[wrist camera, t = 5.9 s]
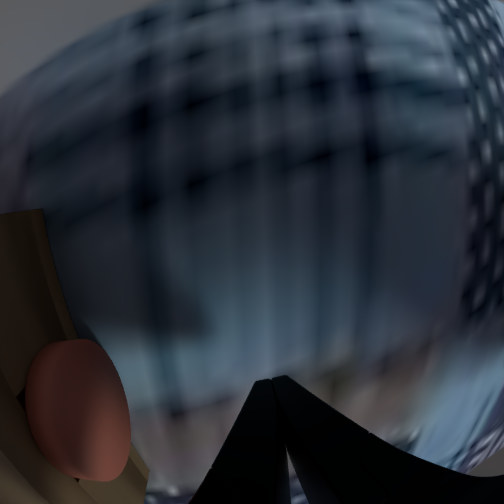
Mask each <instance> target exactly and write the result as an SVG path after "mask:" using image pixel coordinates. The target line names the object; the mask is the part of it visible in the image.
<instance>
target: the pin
mask: <svg viewBox="0 0 504 504" xmlns="http://www.w3.org/2000/svg"><path fill="white" fill-rule="evenodd" d="M16 398H17V400H18V401H19V403H20V405H21V407H22V408H23V410H24V411H25V413H26V415H27V417H28V422H29V425H30V429H31V432H32V435H33V437H34V439H35V442H36V444H37V445H38V447H39V449H40V451H41V452H42V454H43V455H44V457H45V458H46V459H47V460H48V461H49V463H50V464H51V465H52V466H53V467H55V468H56V469H57V470H58V471H60V472H61V473H63V474H65V475H67V476H70V477H74V478H80V479H86V480H94V481H102V482H106V481H111V480H113V479H115V478H116V477H118V476H119V475H120V474H121V472H122V471H123V469H124V467H125V465H126V463H127V460H128V456H129V451H130V442H131V427H130V416H129V409H128V404H127V399H126V395H125V392H124V388H123V385H122V382H121V379H120V377H119V374H118V372H117V370H116V368H115V366H114V364H113V362H112V360H111V359H110V357H109V356H108V354H107V353H106V352H105V351H104V349H102V348H101V347H100V346H99V345H98V344H97V343H95V342H93V341H91V340H88V339H76V340H66V341H56V342H52V343H49V344H47V345H45V346H44V347H43V348H42V349H41V350H40V351H39V352H38V353H37V355H36V356H35V358H34V360H33V361H32V364H31V366H30V369H29V372H28V376H27V382H26V386H25V387H24V388H23V389H22V391H21V392H20V393H19V394H18V395H17V397H16Z"/></svg>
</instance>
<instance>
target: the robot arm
mask: <svg viewBox="0 0 504 504" xmlns="http://www.w3.org/2000/svg"><path fill="white" fill-rule="evenodd" d="M284 440H285V441H284ZM285 445H286V446H285ZM286 448H287V451H286ZM287 452H288V454H289V457H290V460H291V462H292V465H293V467H294V469H295V472H296V474H297V477H298V479H299V481H300V484H301V486H302V488H303V491H304V493H305V495H306V498H307V500H308V502H309V504H504V475H499V476H492V477H478V476H471V475H467V474H463V473H460V472H457V471H454V470H451V469H448V468H445V467H442V466H440V465H437V464H434V463H431V462H429V461H426V460H424V459H421V458H418V457H416V456H414V455H412V454H409V453H407V452H405V451H403V450H400V449H398V448H396V447H395V446H393V445H391V444H389V443H387V442H386V441H384V440H382V439H380V438H379V437H377V436H376V435H374V434H372V433H369V431H367V430H366V429H364V428H363V427H361V426H360V425H358V424H357V423H355V422H353V421H352V420H350V419H349V418H347V417H346V416H344V415H343V414H341V413H340V412H338V411H337V410H335V409H334V408H332V407H331V406H330V405H328V404H327V403H325V402H324V401H322V400H321V399H319V398H318V397H317V396H315V395H314V394H312V393H311V392H309V391H308V390H307V389H305V388H304V387H302V386H301V385H300V384H298V383H297V382H296V381H294V380H293V379H291V378H290V377H289V376H287V375H282V376H278V377H273V378H272V379H271V380H270V379H263V380H258V381H256V382H255V383H254V385H253V387H252V389H251V391H250V393H249V395H248V397H247V399H246V401H245V403H244V405H243V407H242V409H241V411H240V413H239V415H238V417H237V419H236V421H235V423H234V425H233V427H232V429H231V431H230V432H229V434H228V436H227V438H226V440H225V442H224V444H223V446H222V448H221V449H220V451H219V453H218V455H217V457H216V459H215V461H214V462H213V464H212V466H211V469H209V471H208V473H207V475H206V477H205V478H204V480H203V482H202V483H201V485H200V487H199V488H198V490H197V491H196V493H195V495H194V496H193V497H192V499H191V500H190V501H189V503H188V504H291V497H290V483H289V471H288V458H287Z"/></svg>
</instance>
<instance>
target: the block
mask: <svg viewBox="0 0 504 504" xmlns="http://www.w3.org/2000/svg"><path fill="white" fill-rule="evenodd" d="M76 339H79V338H78V336H77V333H76V331H75V328H74V325H73V323H72V320H71V317H70V314H69V311H68V309H67V306H66V303H65V300H64V296H63V293H62V290H61V287H60V283H59V280H58V277H57V273H56V269H55V266H54V262H53V258H52V254H51V250H50V246H49V241H48V237H47V232H46V227H45V222H44V217H43V212H42V208H41V209H33V210H26V211H19V212H12V213H5V214H0V504H144V498H145V492H146V486H147V481H148V476H149V469H148V468H147V466H146V465H145V463H144V462H143V460H142V459H141V457H140V456H139V454H138V453H137V451H136V450H135V448H134V447H133V445H132V444H131V442H130V451H129V456H128V460H127V463H126V465H125V467H124V469H123V471H122V472H121V474H120V475H119V476H118V477H116V478H115V479H113V480H111V481H106V482H102V481H94V480H86V479H80V478H74V477H70V476H67V475H65V474H63V473H61V472H60V471H58V470H57V469H56V468H55V467H53V466H52V465H51V464H50V463H49V461H48V460H47V459H46V458H45V457H44V455H43V454H42V452H41V451H40V449H39V447H38V445H37V444H36V442H35V439H34V437H33V435H32V432H31V429H30V425H29V422H28V417H27V415H26V413H25V411H24V410H23V408H22V407H21V405H20V403H19V401H18V400H17V398H16V397H17V395H18V394H19V393H20V392H21V391H22V389H23V388H24V387H25V386H26V382H27V376H28V372H29V369H30V366H31V364H32V361H33V360H34V358H35V356H36V355H37V353H38V352H39V351H40V350H41V349H42V348H43V347H44V346H45V345H47V344H49V343H52V342H56V341H66V340H76Z"/></svg>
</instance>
